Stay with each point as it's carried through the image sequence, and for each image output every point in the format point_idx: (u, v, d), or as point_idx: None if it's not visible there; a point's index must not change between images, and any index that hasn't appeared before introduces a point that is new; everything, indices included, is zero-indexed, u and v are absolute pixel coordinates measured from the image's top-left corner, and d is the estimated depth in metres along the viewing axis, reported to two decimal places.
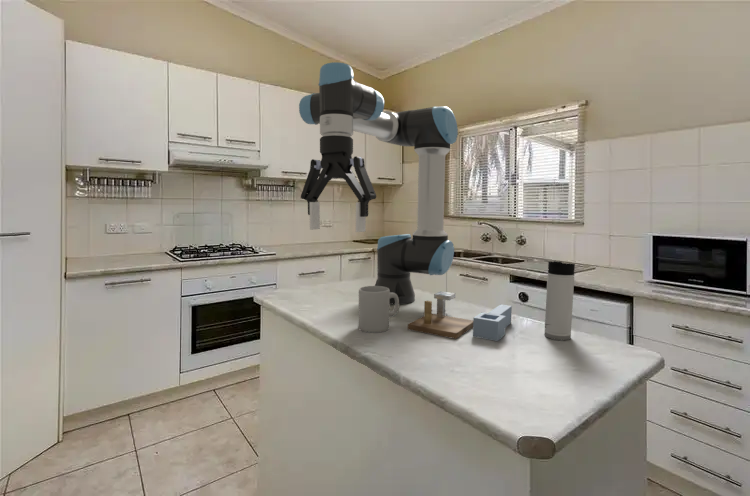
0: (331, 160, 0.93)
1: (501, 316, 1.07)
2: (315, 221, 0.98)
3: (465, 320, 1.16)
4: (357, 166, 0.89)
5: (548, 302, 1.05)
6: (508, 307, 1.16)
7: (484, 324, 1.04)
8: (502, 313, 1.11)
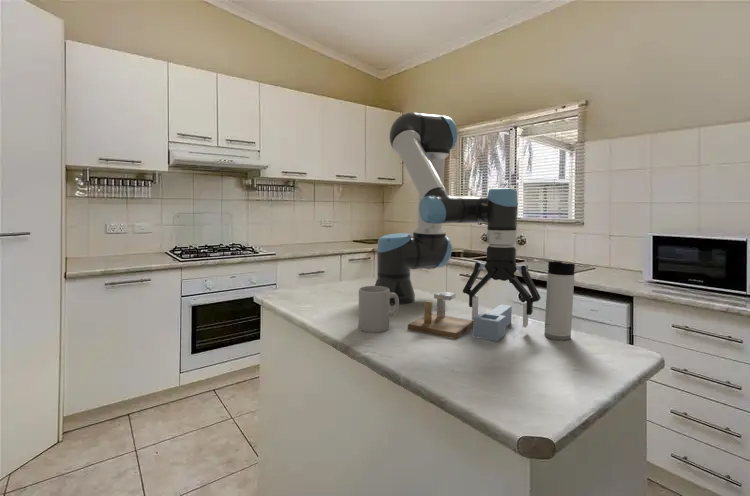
0: (497, 265, 1.11)
1: (501, 316, 1.07)
2: (476, 312, 1.16)
3: (465, 320, 1.16)
4: (525, 273, 1.07)
5: (548, 302, 1.05)
6: (508, 307, 1.16)
7: (484, 324, 1.04)
8: (502, 313, 1.11)
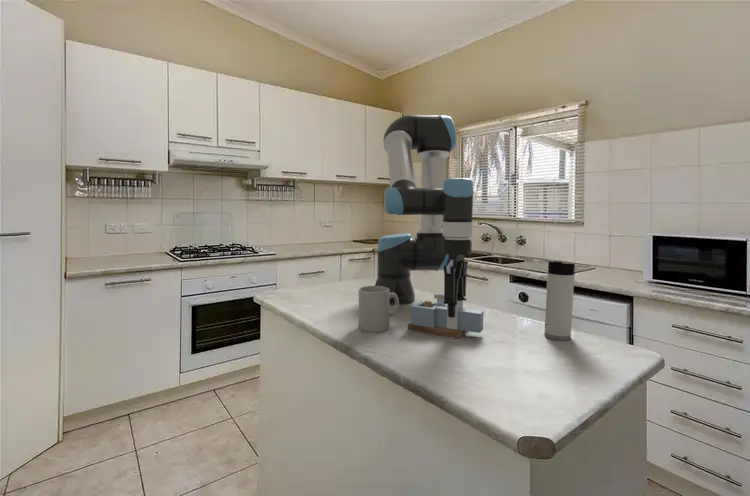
0: None
1: (432, 308, 1.09)
2: None
3: None
4: None
5: (548, 302, 1.05)
6: (471, 312, 1.05)
7: None
8: (446, 310, 1.08)
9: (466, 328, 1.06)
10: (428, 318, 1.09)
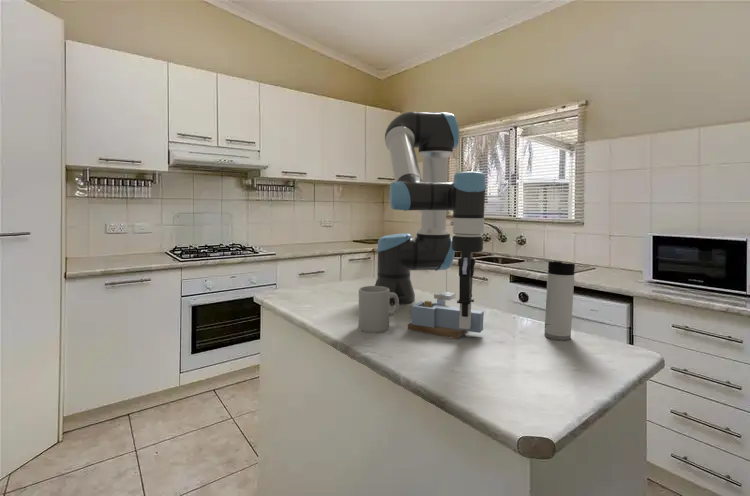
0: None
1: (432, 308, 1.09)
2: None
3: None
4: (459, 274, 0.98)
5: (548, 302, 1.05)
6: (471, 312, 1.05)
7: None
8: (446, 309, 1.08)
9: None
10: (428, 318, 1.09)
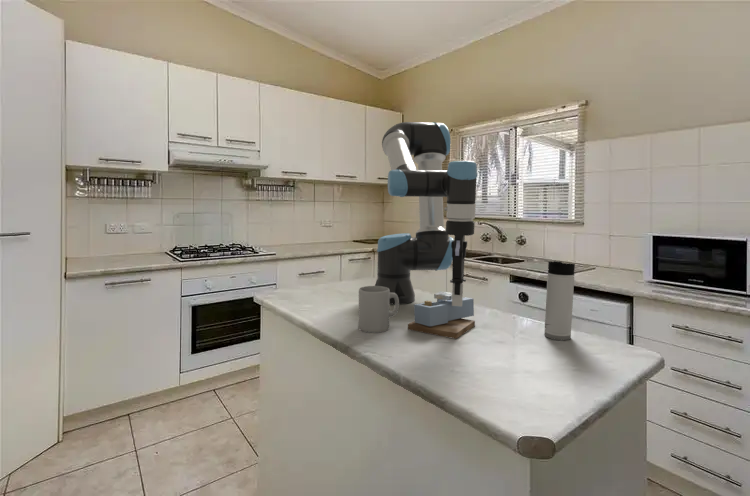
0: None
1: (443, 304, 1.11)
2: None
3: (465, 320, 1.16)
4: (452, 256, 1.07)
5: (548, 302, 1.05)
6: (466, 299, 1.18)
7: (421, 310, 1.11)
8: (450, 303, 1.14)
9: (465, 315, 1.17)
10: (443, 315, 1.11)
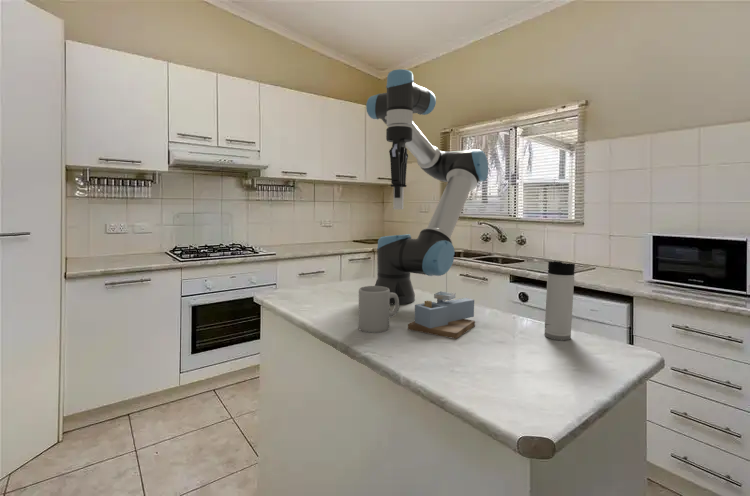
0: None
1: (444, 306, 1.11)
2: None
3: (465, 320, 1.16)
4: None
5: (548, 302, 1.05)
6: (467, 300, 1.18)
7: (421, 311, 1.10)
8: (451, 304, 1.14)
9: (465, 316, 1.17)
10: (444, 317, 1.10)
